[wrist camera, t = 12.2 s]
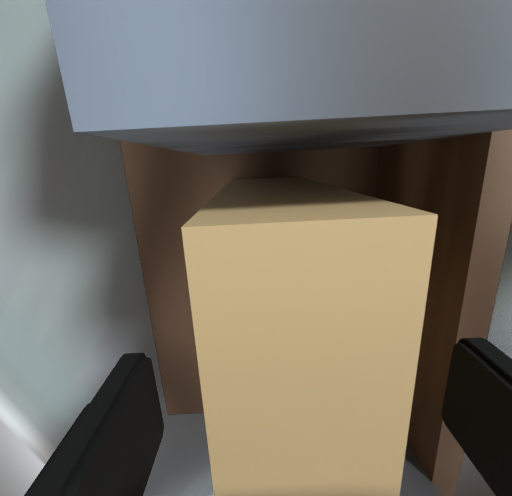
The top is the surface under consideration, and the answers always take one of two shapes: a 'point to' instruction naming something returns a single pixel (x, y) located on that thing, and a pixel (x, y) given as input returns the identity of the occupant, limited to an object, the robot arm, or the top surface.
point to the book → (307, 335)
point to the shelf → (365, 172)
